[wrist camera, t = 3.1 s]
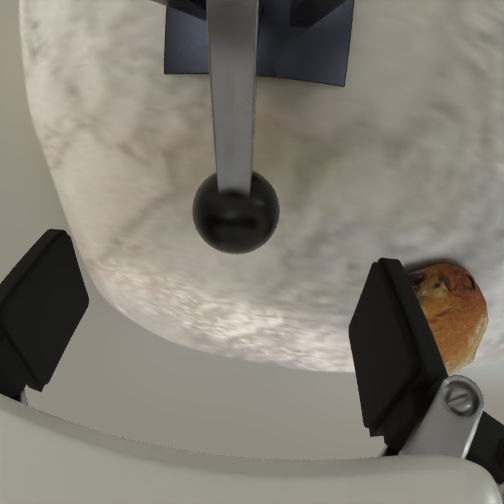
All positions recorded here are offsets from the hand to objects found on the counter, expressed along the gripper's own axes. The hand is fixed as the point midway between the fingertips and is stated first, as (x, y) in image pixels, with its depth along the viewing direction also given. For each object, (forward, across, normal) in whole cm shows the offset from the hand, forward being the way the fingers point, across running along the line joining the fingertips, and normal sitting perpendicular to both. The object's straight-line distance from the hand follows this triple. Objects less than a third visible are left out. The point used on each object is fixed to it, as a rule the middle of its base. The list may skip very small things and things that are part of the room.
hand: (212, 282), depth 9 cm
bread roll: (+10, -15, +10) cm, 21 cm away
